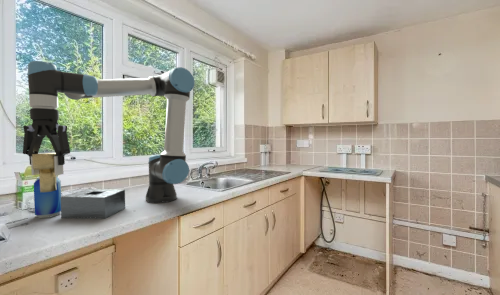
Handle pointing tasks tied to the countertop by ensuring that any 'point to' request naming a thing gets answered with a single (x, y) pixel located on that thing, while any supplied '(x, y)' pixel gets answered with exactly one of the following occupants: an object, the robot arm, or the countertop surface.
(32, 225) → the countertop surface
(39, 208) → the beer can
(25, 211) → the countertop surface
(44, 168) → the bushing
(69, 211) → the block
